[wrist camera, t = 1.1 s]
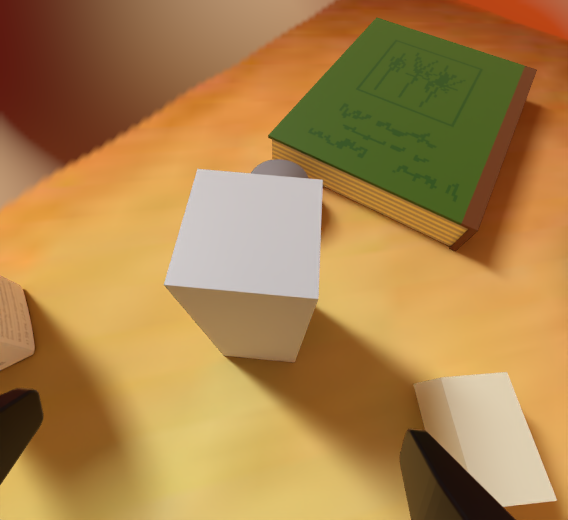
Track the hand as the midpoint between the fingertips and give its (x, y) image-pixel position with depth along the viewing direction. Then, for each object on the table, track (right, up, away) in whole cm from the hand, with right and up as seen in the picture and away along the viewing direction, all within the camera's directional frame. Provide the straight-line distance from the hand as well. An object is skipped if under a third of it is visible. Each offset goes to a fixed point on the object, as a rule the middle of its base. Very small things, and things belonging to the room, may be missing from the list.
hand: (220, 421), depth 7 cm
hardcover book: (+15, +18, +26) cm, 35 cm away
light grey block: (0, -1, +15) cm, 15 cm away
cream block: (+13, -7, +12) cm, 19 cm away
